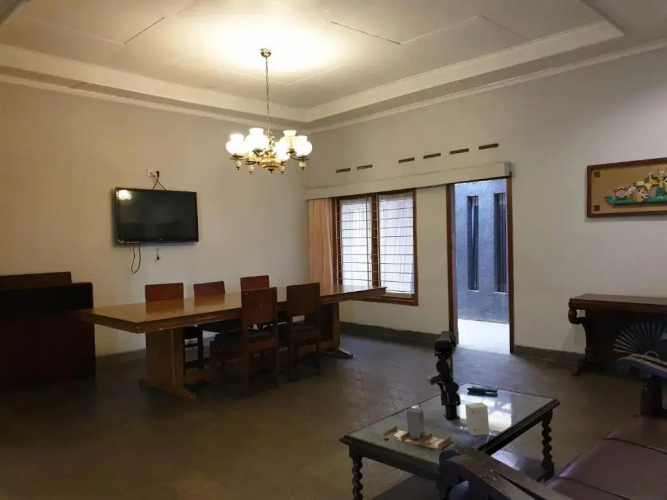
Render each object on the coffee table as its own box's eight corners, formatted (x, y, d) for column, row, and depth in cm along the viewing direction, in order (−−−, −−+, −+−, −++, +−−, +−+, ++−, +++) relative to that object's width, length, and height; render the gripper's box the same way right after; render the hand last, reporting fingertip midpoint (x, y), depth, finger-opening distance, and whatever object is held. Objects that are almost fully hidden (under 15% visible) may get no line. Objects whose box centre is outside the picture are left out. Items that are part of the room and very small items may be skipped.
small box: (484, 430, 230) (482, 401, 230) (489, 435, 224) (487, 406, 224) (466, 432, 230) (464, 403, 230) (472, 437, 223) (470, 408, 223)
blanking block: (408, 439, 224) (406, 410, 224) (413, 435, 227) (411, 408, 227) (420, 441, 221) (418, 412, 220) (425, 438, 224) (423, 410, 223)
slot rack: (383, 438, 229) (382, 432, 229) (395, 431, 237) (394, 425, 237) (440, 451, 211) (440, 444, 211) (451, 443, 219) (451, 436, 219)
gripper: (422, 364, 244) (424, 396, 244) (433, 373, 225) (436, 408, 226) (444, 361, 245) (446, 394, 245) (458, 371, 226) (460, 406, 227)
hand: (447, 400), depth 236 cm, fingers open, 9 cm apart
